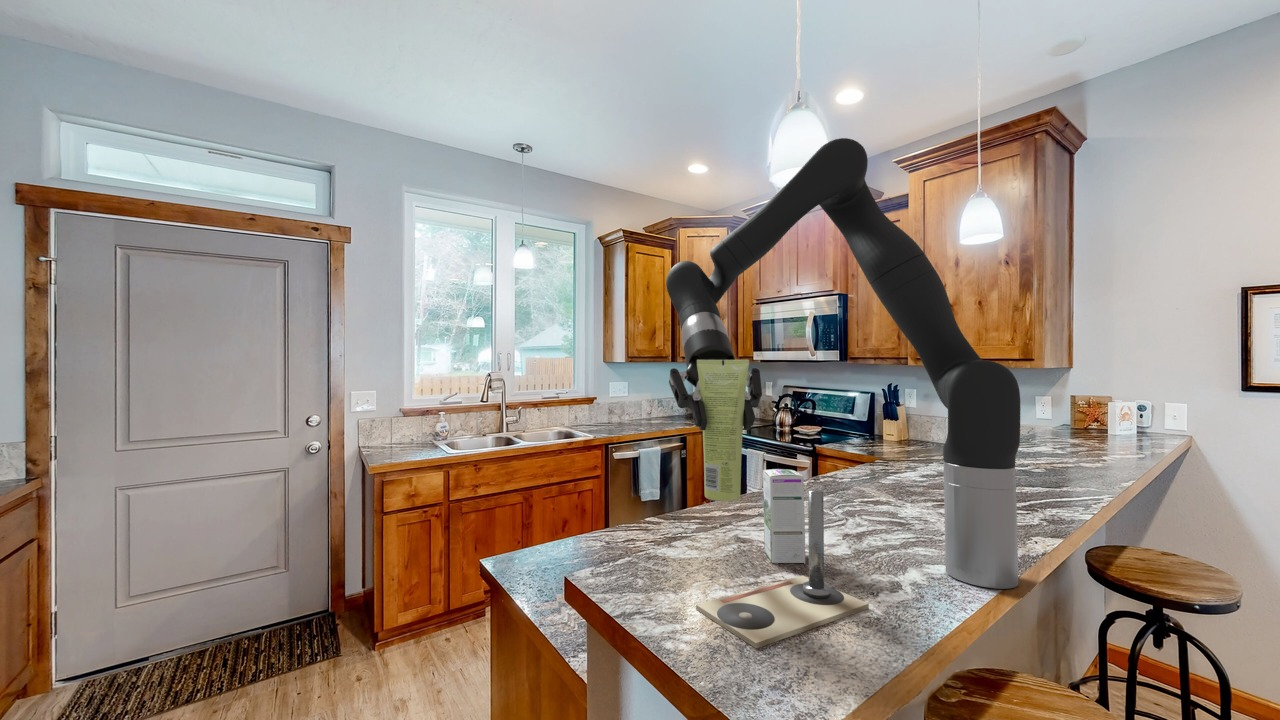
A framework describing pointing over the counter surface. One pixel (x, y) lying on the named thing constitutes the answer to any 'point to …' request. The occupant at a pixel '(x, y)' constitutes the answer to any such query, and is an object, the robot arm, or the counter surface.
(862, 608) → the board
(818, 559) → the fixed peg
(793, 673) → the counter surface
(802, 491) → the syrup box
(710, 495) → the tube
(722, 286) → the robot arm
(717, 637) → the counter surface
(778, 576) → the counter surface
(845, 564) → the counter surface
